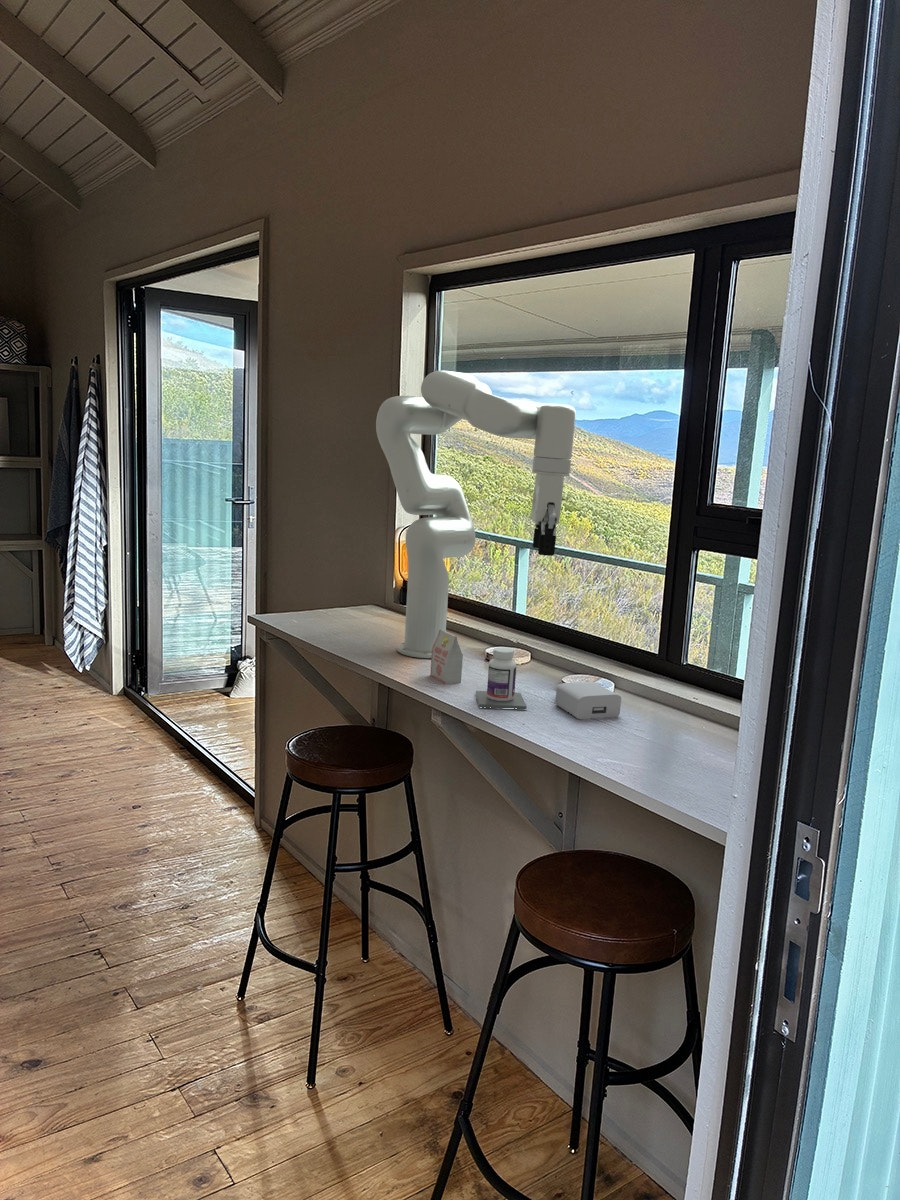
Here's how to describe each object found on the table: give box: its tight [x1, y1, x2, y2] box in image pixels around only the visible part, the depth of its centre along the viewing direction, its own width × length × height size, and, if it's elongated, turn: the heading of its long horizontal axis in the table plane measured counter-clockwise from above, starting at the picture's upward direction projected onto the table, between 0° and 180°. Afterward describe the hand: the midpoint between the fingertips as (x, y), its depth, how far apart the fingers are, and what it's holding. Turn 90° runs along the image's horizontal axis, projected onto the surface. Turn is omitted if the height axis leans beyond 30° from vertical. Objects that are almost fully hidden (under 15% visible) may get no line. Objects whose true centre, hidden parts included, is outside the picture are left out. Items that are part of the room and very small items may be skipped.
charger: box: [553, 681, 622, 720], centre depth 178 cm, size 5×9×15 cm
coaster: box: [475, 690, 528, 710], centre depth 178 cm, size 9×9×1 cm
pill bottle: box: [486, 646, 517, 701], centre depth 177 cm, size 5×5×10 cm
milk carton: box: [430, 630, 464, 685], centre depth 191 cm, size 4×7×10 cm, turn 29°
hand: (543, 551), depth 186 cm, fingers open, 9 cm apart
